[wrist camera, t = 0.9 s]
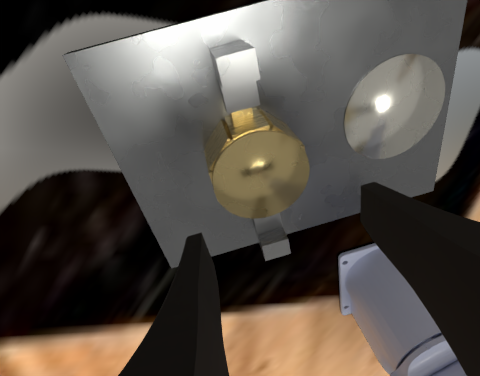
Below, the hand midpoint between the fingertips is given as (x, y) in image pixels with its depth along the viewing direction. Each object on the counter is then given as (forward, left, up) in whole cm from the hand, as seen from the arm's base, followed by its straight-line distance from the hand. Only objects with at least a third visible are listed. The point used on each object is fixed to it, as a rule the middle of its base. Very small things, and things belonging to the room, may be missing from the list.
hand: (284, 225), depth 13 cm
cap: (0, 0, -8) cm, 8 cm away
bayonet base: (0, -3, -9) cm, 9 cm away
